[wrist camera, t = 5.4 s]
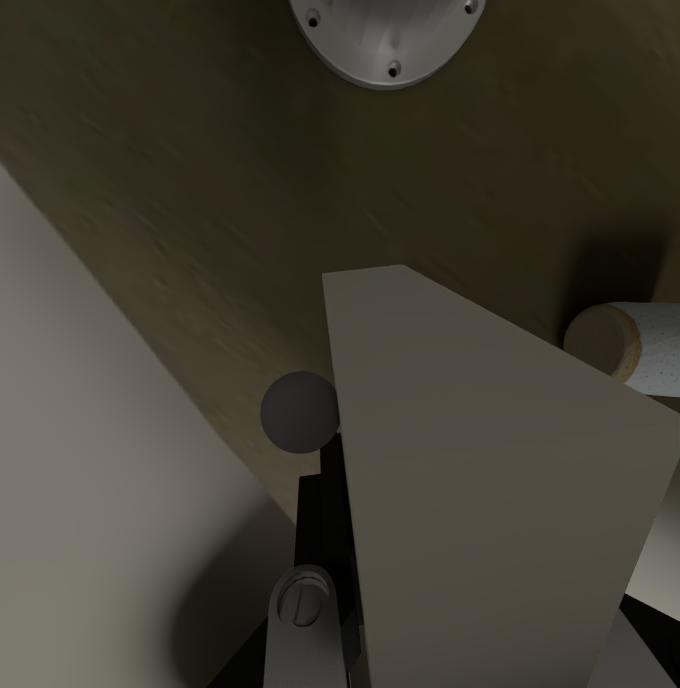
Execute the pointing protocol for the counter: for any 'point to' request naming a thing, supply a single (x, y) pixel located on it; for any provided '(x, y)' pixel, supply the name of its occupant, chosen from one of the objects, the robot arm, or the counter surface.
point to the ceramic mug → (630, 344)
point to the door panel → (477, 483)
